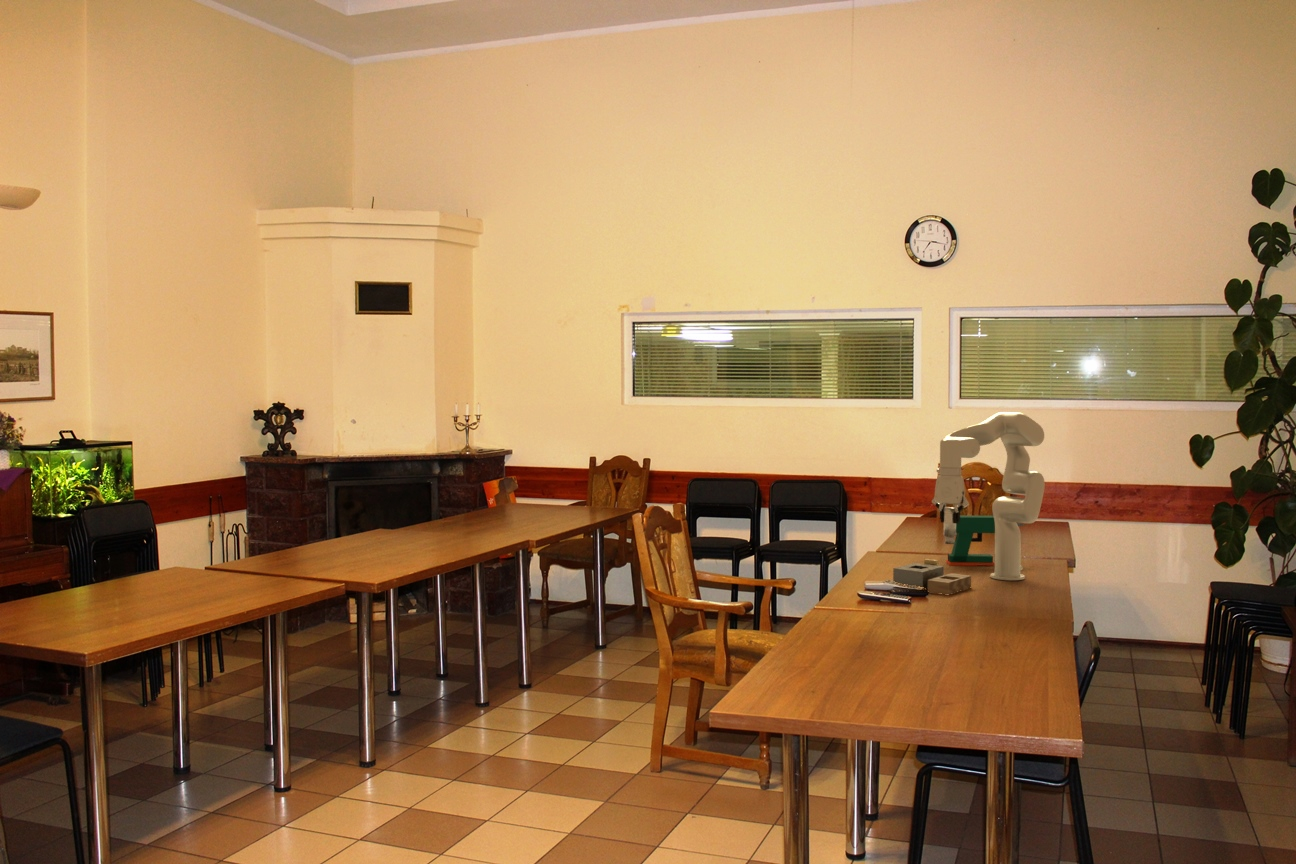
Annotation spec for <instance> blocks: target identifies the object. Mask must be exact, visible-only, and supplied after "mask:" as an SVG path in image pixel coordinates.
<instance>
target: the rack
mask: <svg viewBox="0 0 1296 864" xmlns="http://www.w3.org/2000/svg"><path fill="white" fill-rule="evenodd" d="M970 587H971V588H972V575H968V574H959V573H947V574H944V576H940V577H937V578H933V579H930V580H928V590H927V592H928V591H929V592H931V593H930V594H936V593H942V594H941V595H943V594H951V593H954V592H957V591H960V590H963V591H965V590H964V589H966V590H968V589H967V588H969V589H971V588H970ZM960 592H961V591H960ZM957 593H958V592H957ZM954 594H955V593H954ZM951 595H952V594H951Z"/></svg>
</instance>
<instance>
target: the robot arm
mask: <svg viewBox="0 0 1296 864" xmlns="http://www.w3.org/2000/svg"><path fill="white" fill-rule="evenodd" d="M1044 431H1045V430H1044V429H1043V427H1042V425H1040V424H1039V423H1038V422H1036V421H1035V420H1033V418H1031V417H1030V416H1028V415H1026V414H1025V413H1022V412H1018V411H1017V412H1010V411H1008V412H1007V411H1000V412H997V413H996V412H995V413H994V414H992V415H991V416H989V417H988V418H986V419H985V420H983V421H981V422H979V423H977V424H973V425H970V426H967V427H964V428H960V429H957V430H955V431H952V432H951V433H949V434H947V435H946V436H945V437H943V438H942V439H941V440H940V441H939V467H938V468H936V473H938V474H939V475H937V477H936V481H935V488H934V497H933V498H932V500H931V503H932V504H934V506H936V508H937V509H938V511H939V520H940V523H944V508H945V507H947V505H953V508H955V512H954V523H955V524H956V523H959V521H960V515H961V512H962V511H963V510H964V509H965V508H967V507H968V506H969V505H970V502H969V501H968V499H967V497H966V489H965V487H966V486H965V482H964V481H965V480H964V476H962V459H963V458H964V459H971V458H972V459H973V458H975V457H976V456H978V455H979V454H980V451H981V446H987V445H991V444H993V443H994V442H995V441H997V440H998V439H1000V440H1001V442H1002V444H1003V447H1004V448H1005V451H1006V463H1005V468H1004V473H1003V476H1002V482H1001V488H1002V490H1003V492H1004V493H1008V494H1011V495H1020V496H1025V497H1020V496H1019V497H1018V496H1008V495H1006V496H1005V495H1004V496H1003V495H1002V496H1000V497H999V496H998V497H997V498H996V499H995V500H994V501H993V503H992V507H991V508H992V509H991V510H992V516H994V523H995V533H994V570H993V571H994V572H991V573H990V574H989V575H990V578H992V579H994V580H1000V581H1001V580H1002V581H1023V580H1025V575H1024V574H1021V571H1022V570H1023V569H1024V567H1023V565H1021V560H1022V559H1021V558H1022V557H1021V556H1022V554H1021V553H1022V552H1021V551H1022V550H1021V544H1022V543H1021V542H1022V532H1021V529H1020V526H1018V525H1017V523H1021V524H1033V523H1035V522H1036V521H1037V520H1038V517H1039V516H1040V513H1041V512H1040V511H1041V507H1042V502H1043V498H1044V492H1045V486H1046V485H1045V483H1046V482H1045V478H1044V475H1043V474H1042V473H1041V472H1039V471H1036V470H1030V469H1029V468H1030V463H1031V458H1030V454H1029V453H1028V450H1027V449H1026V448H1025V447H1037V446H1040V445H1041V444H1043V442H1044V440H1045V432H1044Z"/></svg>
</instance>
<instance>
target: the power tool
mask: <svg viewBox="0 0 1296 864" xmlns="http://www.w3.org/2000/svg"><path fill="white" fill-rule="evenodd" d="M1016 523H1017V525H1018V527H1021V526H1026V525H1027V523H1020V522H1016ZM974 534H977V535H976V537H974ZM983 534H995V523H994V516H993V515H967V514H966V515H963V514H962V515H961V514H960V521H959V523H956V536H955V537H954V544H953V545H952V550H951V553H947V559H946V560H945V563H946V562H947V563H948V564H949V565H948V564H947V563H946V564H947V565H948V566H977V565H994V566H995V561H994V556H993V555H991V554H989V553H988V554H987V553H985V554H984V553H983V554H981V553H980V554H979V553H977V554H975V553H969V552H970V548H971V545H972V543H973V542H976V543H981V542H983Z"/></svg>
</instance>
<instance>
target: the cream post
mask: <svg viewBox="0 0 1296 864" xmlns="http://www.w3.org/2000/svg"><path fill="white" fill-rule="evenodd" d="M954 512H955V508H954V506H953V507H950V506H946V507H945V508H944V522H943V536H944V542H945V543H944V544H945V545H954V542H955V537H956V534H957V533H956V524H955V523H954Z"/></svg>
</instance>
